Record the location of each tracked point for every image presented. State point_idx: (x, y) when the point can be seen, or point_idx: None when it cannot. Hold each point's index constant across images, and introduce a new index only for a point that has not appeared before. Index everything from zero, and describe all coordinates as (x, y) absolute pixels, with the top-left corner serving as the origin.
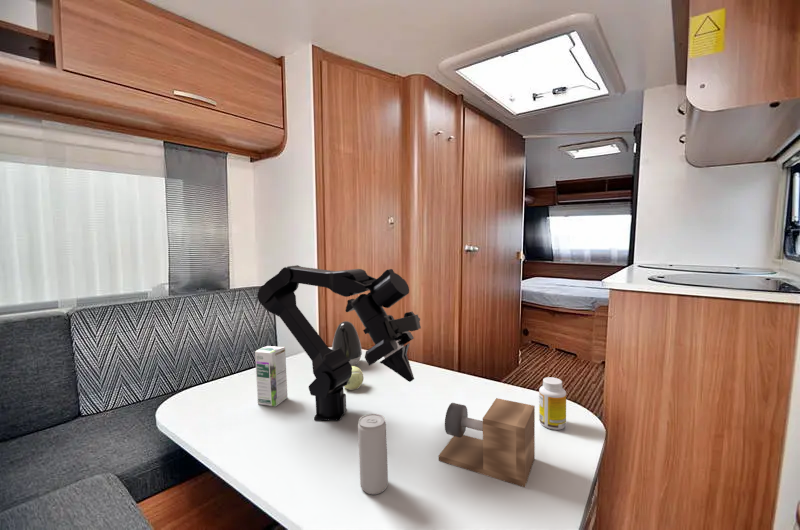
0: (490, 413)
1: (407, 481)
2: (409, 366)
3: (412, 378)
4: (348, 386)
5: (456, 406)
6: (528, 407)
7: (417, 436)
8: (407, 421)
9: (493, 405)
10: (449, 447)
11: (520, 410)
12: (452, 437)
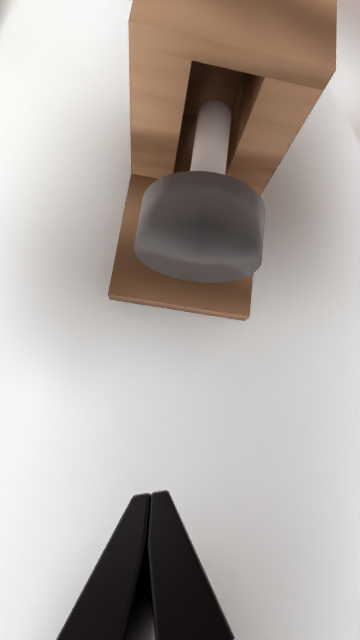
0: (284, 44)
1: (355, 374)
2: (116, 615)
3: (171, 498)
4: None
5: (224, 197)
6: None
7: (143, 427)
8: (46, 511)
9: (209, 33)
10: (198, 296)
11: None
12: (140, 299)
